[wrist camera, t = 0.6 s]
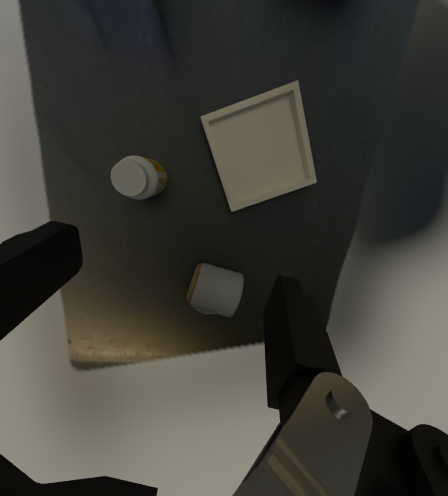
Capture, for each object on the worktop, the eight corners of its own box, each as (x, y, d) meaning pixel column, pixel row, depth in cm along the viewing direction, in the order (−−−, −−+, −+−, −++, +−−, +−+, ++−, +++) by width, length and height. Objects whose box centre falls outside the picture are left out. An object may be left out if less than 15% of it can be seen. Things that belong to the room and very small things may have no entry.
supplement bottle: (171, 192, 35) (157, 200, 26) (137, 196, 35) (112, 206, 26) (163, 156, 34) (146, 150, 24) (128, 160, 33) (97, 157, 24)
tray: (201, 120, 32) (200, 116, 30) (291, 87, 31) (297, 80, 29) (230, 209, 37) (231, 211, 34) (309, 181, 36) (316, 182, 34)
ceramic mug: (198, 254, 39) (194, 274, 32) (241, 266, 40) (247, 288, 33) (182, 303, 42) (176, 331, 35) (223, 313, 44) (225, 342, 36)
